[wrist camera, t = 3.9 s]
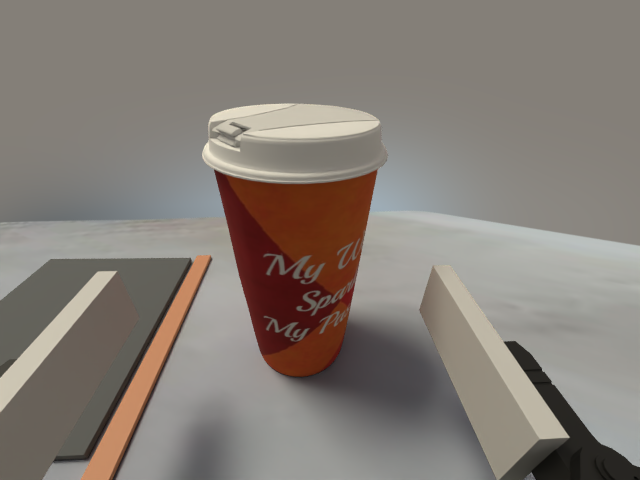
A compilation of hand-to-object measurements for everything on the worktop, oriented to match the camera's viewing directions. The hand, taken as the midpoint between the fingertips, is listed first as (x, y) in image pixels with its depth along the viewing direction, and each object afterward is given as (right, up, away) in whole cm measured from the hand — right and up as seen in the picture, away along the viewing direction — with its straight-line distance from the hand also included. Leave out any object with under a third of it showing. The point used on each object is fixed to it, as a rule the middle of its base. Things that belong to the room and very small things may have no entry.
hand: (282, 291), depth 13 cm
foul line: (-9, -4, +6) cm, 12 cm away
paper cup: (0, -5, +7) cm, 8 cm away
